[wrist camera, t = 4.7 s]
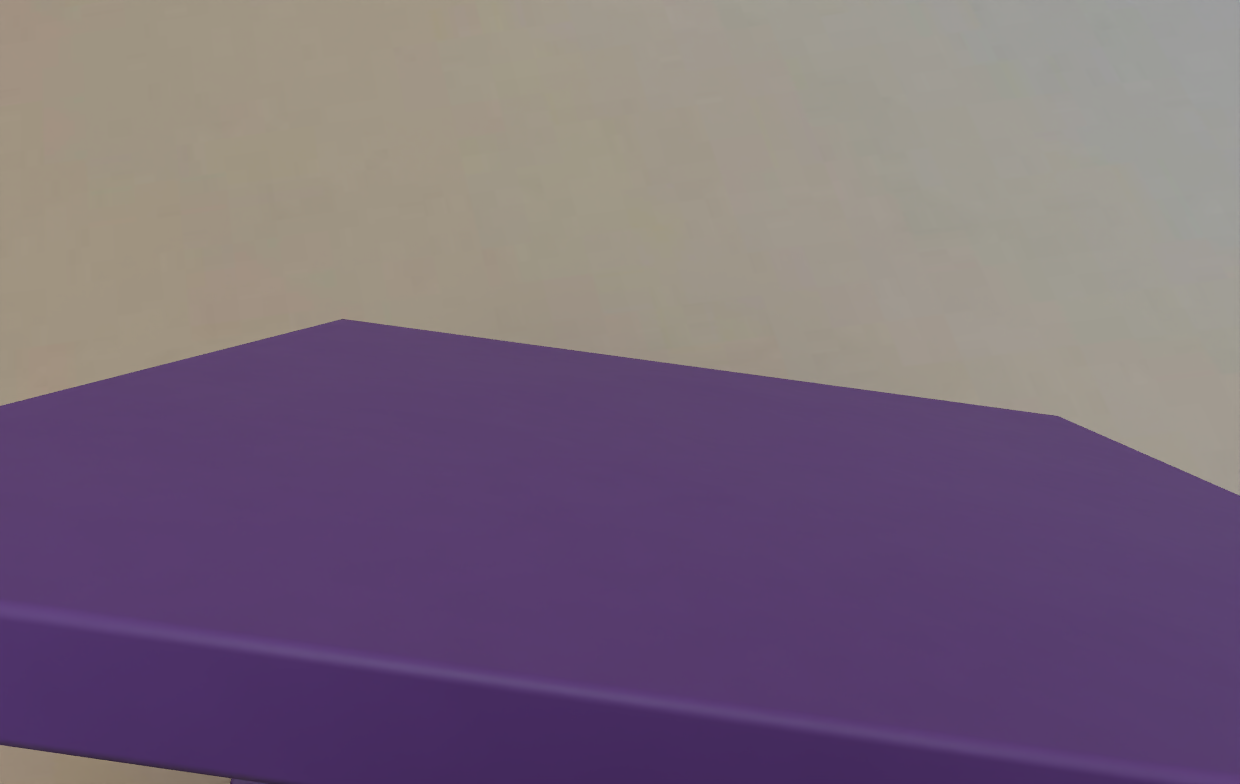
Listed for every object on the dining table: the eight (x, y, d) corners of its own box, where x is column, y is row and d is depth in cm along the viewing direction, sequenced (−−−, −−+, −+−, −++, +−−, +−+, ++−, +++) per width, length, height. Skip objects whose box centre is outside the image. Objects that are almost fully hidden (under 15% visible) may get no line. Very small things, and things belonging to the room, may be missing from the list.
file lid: (2149, 1063, 4) (2223, 919, 4) (-506, 679, 5) (-519, 532, 4) (1051, 458, 16) (1060, 416, 16) (336, 360, 17) (340, 318, 16)
